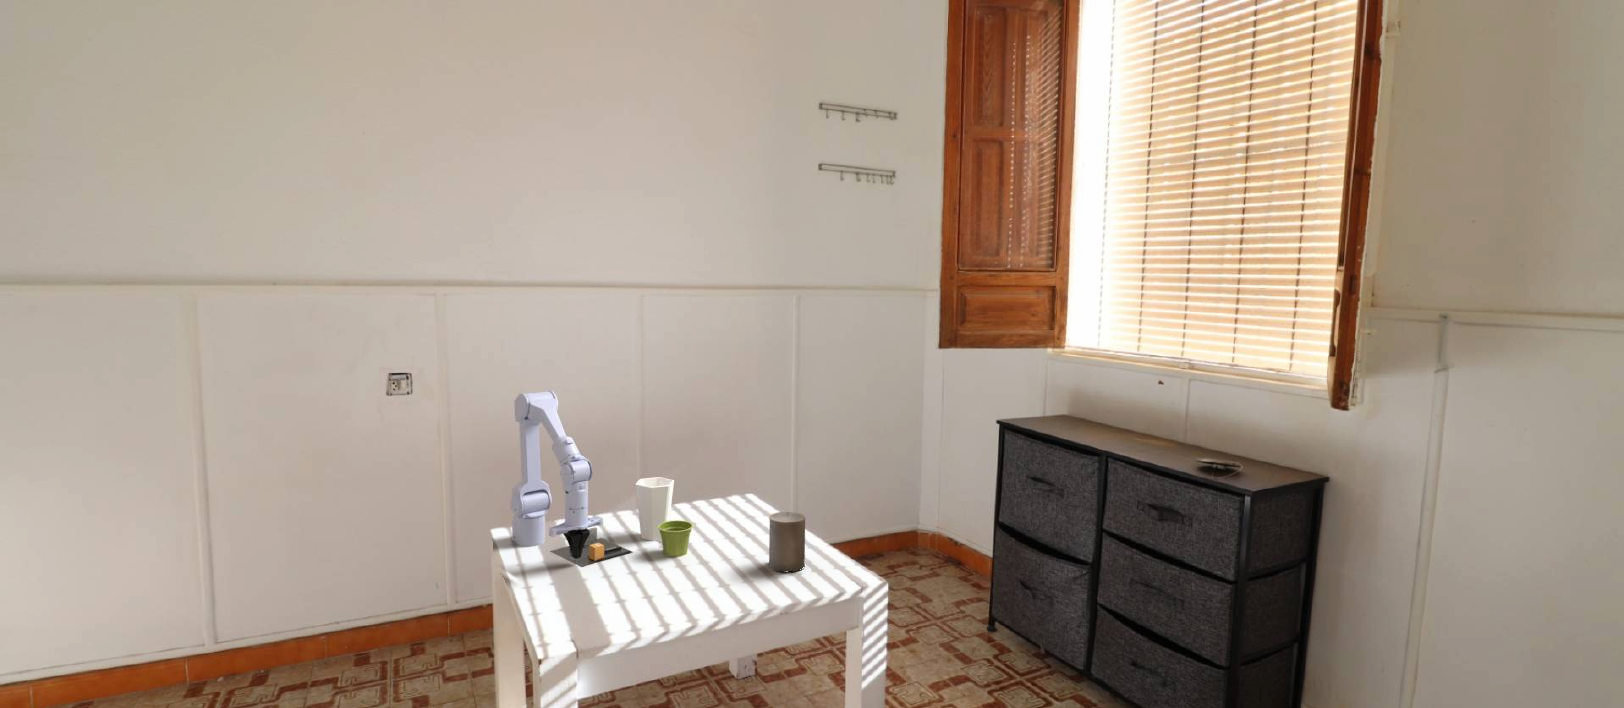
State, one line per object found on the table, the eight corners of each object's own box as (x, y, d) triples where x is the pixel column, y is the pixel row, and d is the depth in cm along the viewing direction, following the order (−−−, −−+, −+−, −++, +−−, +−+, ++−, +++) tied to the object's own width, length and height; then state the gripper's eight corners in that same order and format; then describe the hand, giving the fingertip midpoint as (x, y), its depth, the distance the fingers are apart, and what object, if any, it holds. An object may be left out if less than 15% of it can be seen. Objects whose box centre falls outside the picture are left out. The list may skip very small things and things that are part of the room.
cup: (680, 538, 232) (681, 481, 230) (656, 548, 223) (656, 489, 221) (652, 531, 238) (652, 475, 236) (627, 540, 229) (628, 482, 227)
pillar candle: (812, 566, 212) (813, 511, 211) (786, 575, 205) (787, 519, 204) (786, 557, 219) (787, 504, 218) (760, 566, 212) (761, 511, 211)
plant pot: (685, 564, 212) (685, 532, 211) (652, 560, 214) (652, 529, 213) (697, 552, 221) (697, 522, 220) (665, 549, 223) (665, 519, 222)
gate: (574, 547, 218) (574, 533, 217) (572, 546, 219) (572, 532, 218) (596, 541, 223) (596, 528, 223) (594, 541, 224) (594, 527, 223)
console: (549, 554, 216) (549, 536, 215) (601, 541, 228) (601, 524, 227) (581, 570, 205) (581, 551, 205) (633, 555, 217) (633, 537, 216)
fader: (589, 557, 211) (589, 544, 211) (598, 555, 213) (598, 542, 213) (594, 560, 209) (594, 547, 209) (604, 558, 211) (604, 544, 211)
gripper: (558, 515, 197) (559, 568, 198) (609, 504, 208) (609, 554, 209) (544, 509, 202) (544, 560, 203) (594, 498, 212) (594, 547, 214)
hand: (576, 557), depth 206 cm, fingers closed
